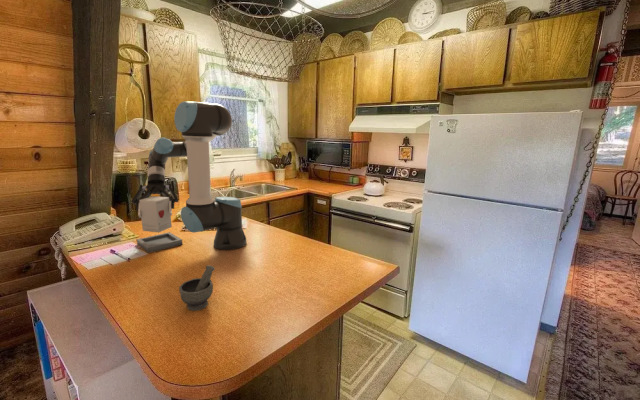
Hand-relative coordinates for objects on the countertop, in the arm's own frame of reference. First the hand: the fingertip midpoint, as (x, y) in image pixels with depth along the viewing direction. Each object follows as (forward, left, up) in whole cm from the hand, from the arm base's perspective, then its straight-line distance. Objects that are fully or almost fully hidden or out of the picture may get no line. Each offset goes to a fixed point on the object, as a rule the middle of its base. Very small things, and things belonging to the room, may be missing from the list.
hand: (155, 215), depth 138 cm
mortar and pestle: (-60, +9, -15) cm, 63 cm away
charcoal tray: (+2, -1, -15) cm, 15 cm away
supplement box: (+2, -1, -8) cm, 8 cm away
